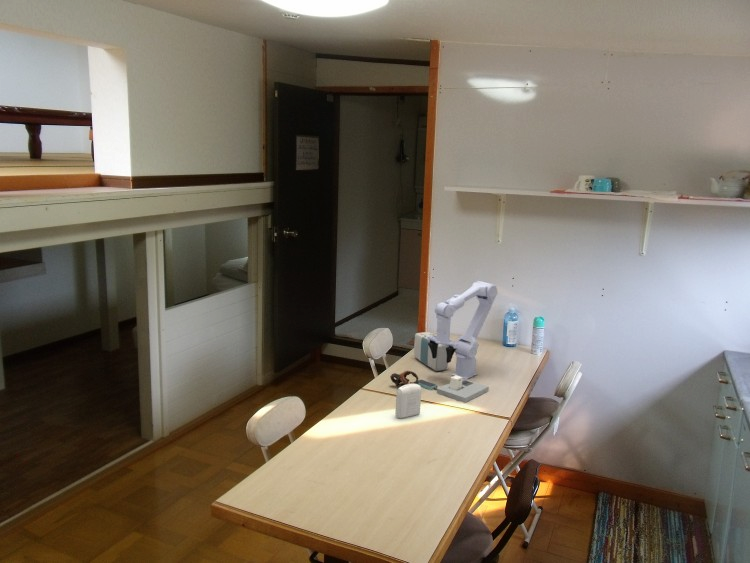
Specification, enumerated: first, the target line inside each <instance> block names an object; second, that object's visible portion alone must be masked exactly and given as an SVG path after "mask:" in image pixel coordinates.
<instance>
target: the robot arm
mask: <svg viewBox="0 0 750 563" xmlns="http://www.w3.org/2000/svg"><path fill="white" fill-rule="evenodd" d="M497 295H498V288H497V285H496V284H495V283H489V282H486V281H485V282H484V281H481V280H476V281H475V282H473V283H472V284H471V287H469V288H468V289H467V290H466V291H464V292H462V293H461V294H454V295H453V296H451V297H450V298H449V299H447V300H445V302H442V301H441V302H439V303H438V304H436V307H435V309H434V312H435V315H436V333H437V334H435V335H436V337H433V336H429V337H428V341H430V343H428V345H429V347H430V350H431V353H432V358H433V359H434V358H436V357H437V348H438V344H443V345H446V346H449V347H447V348H446V352H447V363H448V364H449V363H451V362H452V358H453V356H454V355H455V356H456V360H455V361H456V362H455V372H453V373H451V376H452V377H453V376H455V375H457V376H460V377H462V378H463V379H466V380H469V379H470V378H472V377H475V376H476V375H478V373H477V372H476V370H477V369H476V368H477V359H476V355H477V353H478V347H479V343H478V340H477V338H478V336H479V334H480V331H482V327H483V326H484V323H485V321H486V320H487V317H488V314H490V313H489V312H490V311H491V308H492V306H493V304H494V302H495V300H496V297H497ZM474 297H476V299H477V300H478V306H477V308H476V310H475V313H474V315H473V317H472V319H471V320H470V323H469V325H468V327H467V329H466V332H465V333H464V334H463V335H459V337H458V339H457V340H456V341H452V340H451V339H450V334H451V321H452V320H451V318H452V317H453V316H454V314H455V312H456V311H457V310H459V309H460V308H463V307H464V305H465V302H467V301H470V300H471V299H474Z"/></svg>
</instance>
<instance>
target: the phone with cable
mask: <svg viewBox="0 0 750 563" xmlns="http://www.w3.org/2000/svg"><path fill="white" fill-rule="evenodd" d="M418 385H420V387H421V388H424V389H426V390H429V391H433V390H436V391H437V388H439V387H438V384H436V383H433V382H430V381H427V380H424V379H423V378H422V379H418Z"/></svg>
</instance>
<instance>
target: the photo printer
mask: <svg viewBox="0 0 750 563" xmlns="http://www.w3.org/2000/svg"><path fill="white" fill-rule="evenodd" d="M395 395H396V396H395V397H396V399H395V417H396V418H398V419H404V418H410V417H413V416H417V415H420V413H421V401H422V387H420V385H418V384H410V383H408V384H407V385H404V384H403V385H402V386H400V387H397V390H396V394H395Z"/></svg>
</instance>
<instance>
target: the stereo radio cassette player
mask: <svg viewBox="0 0 750 563" xmlns="http://www.w3.org/2000/svg"><path fill="white" fill-rule="evenodd" d="M436 334H437V332H435V333H432V332H431V331H424V332H423V331H422V332H417V333H415V334H414V345H413V353H414V355H413V356H414V358H415V359H416V360H418V361H420V362H421V363H423V364H424V365H425V366H427V367H429V368H431V369H432V370H433V371H435V372H440V371H446V370H448V365H449V363H447V352H446V348H447V347H449V346H446V345H443V344H438V348H437V357H436V358H434V359H433V358H432V353H431V350H430V347H429V345H428V343H430V341H428V337H429V336H433V337H436Z"/></svg>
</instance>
